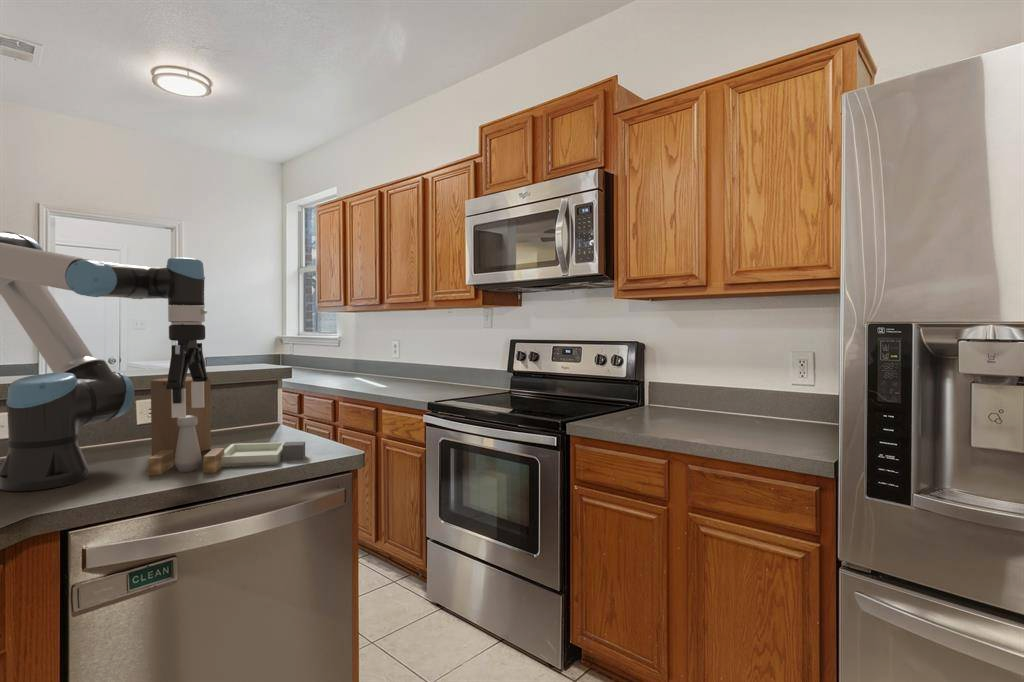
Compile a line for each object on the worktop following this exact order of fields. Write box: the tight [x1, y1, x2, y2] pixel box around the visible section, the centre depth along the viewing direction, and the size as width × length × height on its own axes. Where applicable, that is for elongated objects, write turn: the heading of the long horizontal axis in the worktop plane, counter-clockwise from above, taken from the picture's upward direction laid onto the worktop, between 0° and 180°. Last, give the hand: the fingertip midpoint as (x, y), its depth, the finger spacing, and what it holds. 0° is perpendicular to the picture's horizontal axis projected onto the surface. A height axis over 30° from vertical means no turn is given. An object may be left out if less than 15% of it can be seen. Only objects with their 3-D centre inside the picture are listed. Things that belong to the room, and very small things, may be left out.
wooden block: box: [150, 376, 212, 458], centre depth 149 cm, size 10×10×20 cm
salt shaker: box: [173, 415, 203, 473], centre depth 133 cm, size 6×6×13 cm
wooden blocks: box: [148, 447, 225, 476], centre depth 133 cm, size 14×8×4 cm, turn 103°
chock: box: [282, 441, 306, 461], centre depth 145 cm, size 5×4×4 cm
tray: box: [221, 441, 285, 468], centre depth 144 cm, size 14×14×2 cm
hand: (189, 412), depth 133 cm, fingers open, 13 cm apart
